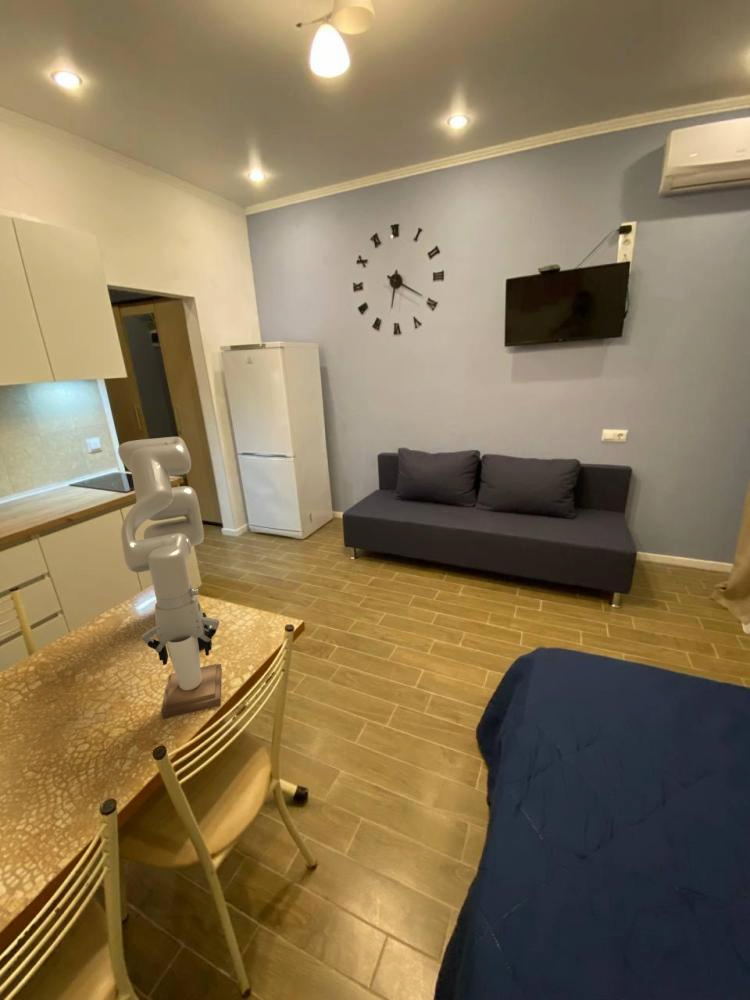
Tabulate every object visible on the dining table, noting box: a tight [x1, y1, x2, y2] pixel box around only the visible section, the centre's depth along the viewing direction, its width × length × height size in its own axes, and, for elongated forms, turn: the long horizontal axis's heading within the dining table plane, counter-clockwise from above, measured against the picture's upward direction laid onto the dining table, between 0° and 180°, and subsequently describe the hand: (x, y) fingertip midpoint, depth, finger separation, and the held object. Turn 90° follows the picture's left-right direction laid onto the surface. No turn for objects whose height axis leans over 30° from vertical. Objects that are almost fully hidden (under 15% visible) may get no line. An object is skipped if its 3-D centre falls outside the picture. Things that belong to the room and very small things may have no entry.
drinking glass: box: [166, 636, 202, 690], centre depth 104 cm, size 7×7×15 cm
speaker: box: [197, 611, 213, 652], centre depth 125 cm, size 8×6×10 cm
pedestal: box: [161, 663, 223, 720], centre depth 107 cm, size 13×13×3 cm
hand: (187, 656), depth 104 cm, fingers open, 9 cm apart
